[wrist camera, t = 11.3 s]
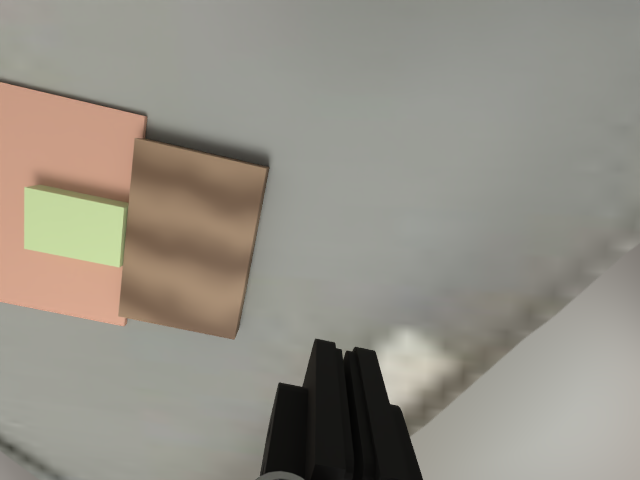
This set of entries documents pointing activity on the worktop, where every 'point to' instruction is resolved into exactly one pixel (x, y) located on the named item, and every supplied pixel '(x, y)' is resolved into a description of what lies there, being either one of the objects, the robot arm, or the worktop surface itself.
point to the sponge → (75, 225)
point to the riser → (189, 237)
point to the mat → (64, 173)
